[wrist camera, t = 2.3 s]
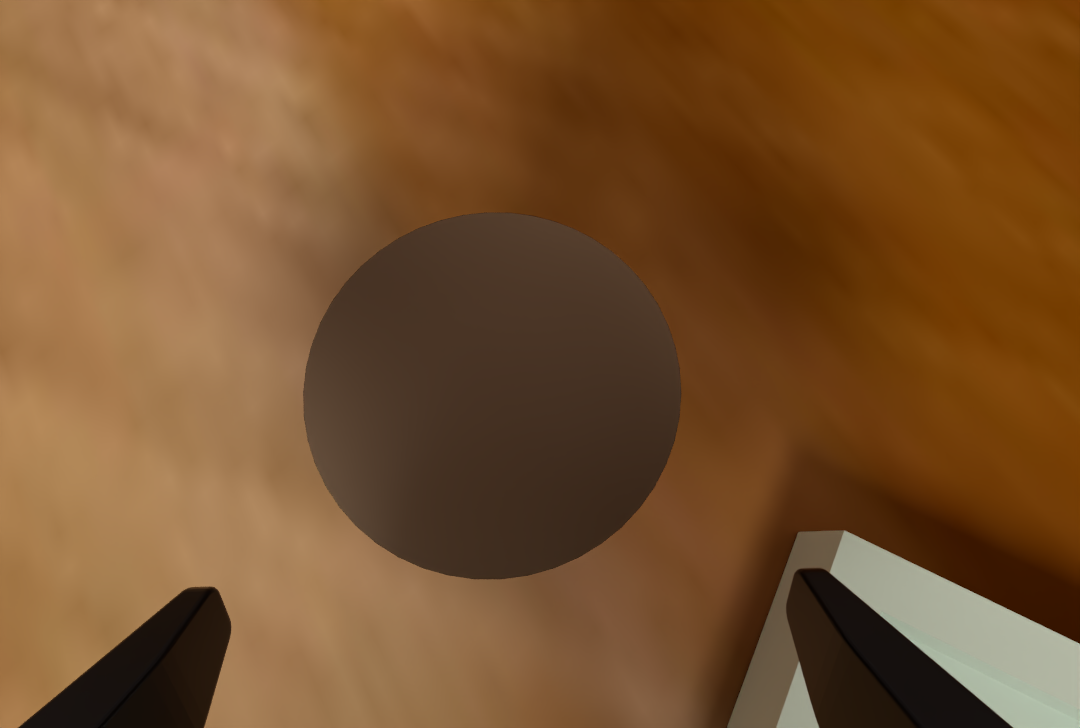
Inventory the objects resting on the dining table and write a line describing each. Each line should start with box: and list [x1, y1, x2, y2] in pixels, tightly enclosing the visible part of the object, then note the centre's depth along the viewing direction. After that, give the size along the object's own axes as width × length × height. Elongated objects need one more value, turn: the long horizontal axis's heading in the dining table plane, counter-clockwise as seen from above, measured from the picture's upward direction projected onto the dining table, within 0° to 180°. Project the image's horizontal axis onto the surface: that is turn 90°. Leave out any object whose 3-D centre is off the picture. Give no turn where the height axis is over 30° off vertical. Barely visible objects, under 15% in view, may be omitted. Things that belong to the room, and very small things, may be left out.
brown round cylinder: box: [303, 213, 681, 579], centre depth 13 cm, size 4×4×13 cm
